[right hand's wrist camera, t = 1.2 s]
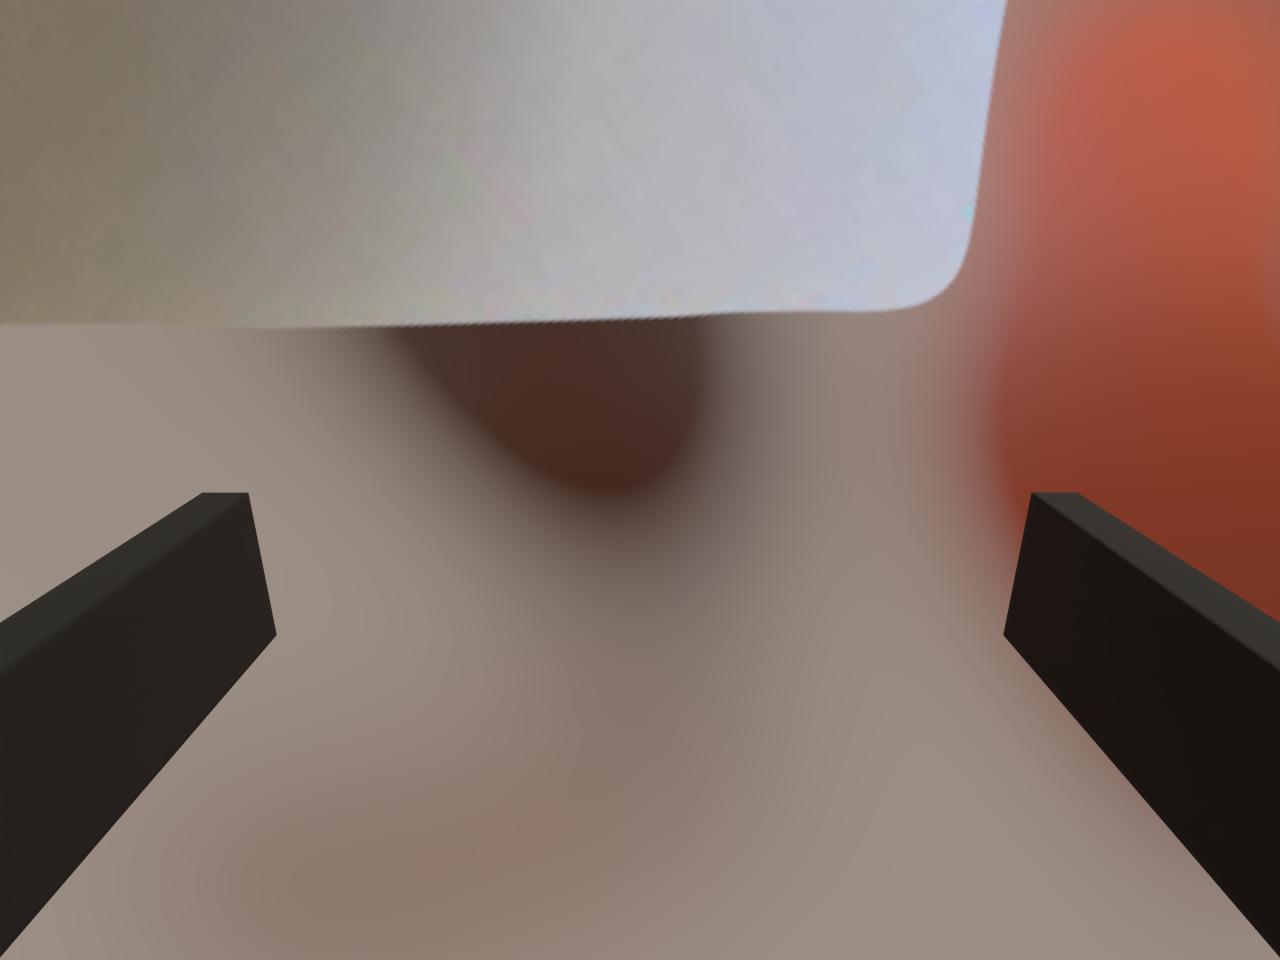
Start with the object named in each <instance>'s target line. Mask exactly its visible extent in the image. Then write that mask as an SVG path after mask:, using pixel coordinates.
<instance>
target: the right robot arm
mask: <svg viewBox="0 0 1280 960" xmlns="http://www.w3.org/2000/svg"><path fill="white" fill-rule="evenodd" d="M1003 635H1004V636H1005V637H1006V639H1007V640H1008V641H1009V642H1010V643H1011V644H1012V646H1013V647H1014V648H1015V649H1016V650H1017V651H1018V653H1019V654H1020V655H1021V656H1022V657H1023V658H1024V660H1025V661H1026V662H1027V663H1028V664H1029V665H1030V667H1031V668H1032V669H1033V670H1034V671H1035V672H1036V674H1037V675H1038V676H1039V677H1040V678H1041V679H1042V681H1043V682H1044V683H1045V684H1046V685H1047V686H1048V688H1049V689H1050V690H1051V691H1052V692H1053V693H1054V695H1055V696H1056V697H1057V698H1058V699H1059V700H1060V702H1061V703H1062V704H1063V705H1064V706H1065V707H1066V709H1067V710H1068V711H1069V712H1070V713H1071V714H1072V716H1073V717H1074V718H1075V719H1076V720H1077V721H1078V723H1079V724H1080V725H1081V726H1082V727H1083V728H1084V730H1085V731H1086V732H1087V733H1088V734H1089V735H1090V737H1091V738H1092V739H1093V740H1094V741H1095V742H1096V744H1097V745H1098V746H1099V747H1100V748H1101V749H1102V751H1103V752H1104V753H1105V754H1106V755H1107V756H1108V758H1109V759H1110V760H1111V761H1112V762H1113V763H1114V765H1115V766H1116V767H1117V768H1118V769H1119V770H1120V772H1121V773H1122V774H1123V775H1124V776H1125V777H1126V779H1127V780H1128V781H1129V782H1130V783H1131V784H1132V786H1133V787H1134V788H1135V789H1136V790H1137V791H1138V793H1139V794H1140V795H1141V796H1142V797H1143V798H1144V799H1145V801H1146V802H1147V803H1148V804H1149V805H1150V807H1151V808H1152V809H1153V810H1154V811H1155V812H1156V814H1157V815H1158V816H1159V817H1160V818H1161V819H1162V820H1163V822H1164V823H1165V824H1166V825H1167V826H1168V828H1169V829H1170V830H1171V831H1172V832H1173V833H1174V835H1175V836H1176V837H1177V838H1178V839H1179V840H1180V842H1181V843H1182V844H1183V845H1184V846H1185V847H1186V849H1187V850H1188V851H1189V852H1190V853H1191V854H1192V855H1193V857H1194V858H1195V859H1196V860H1197V861H1198V862H1199V864H1200V865H1201V866H1202V867H1203V868H1204V869H1205V871H1206V872H1207V873H1208V874H1209V875H1210V876H1211V878H1212V879H1213V880H1214V881H1215V882H1216V883H1217V885H1218V886H1219V887H1220V888H1221V889H1222V890H1223V892H1224V893H1225V894H1226V895H1227V896H1228V897H1229V899H1230V900H1231V901H1232V902H1233V903H1234V904H1235V906H1236V907H1237V908H1238V909H1239V910H1240V911H1241V913H1242V914H1243V915H1244V916H1245V917H1246V918H1247V920H1248V921H1249V922H1250V923H1251V924H1252V925H1253V927H1254V928H1255V929H1256V930H1257V931H1258V932H1259V934H1260V935H1261V936H1262V937H1263V938H1264V939H1265V941H1266V942H1267V943H1268V944H1269V945H1270V946H1271V948H1272V949H1273V950H1274V951H1275V952H1276V953H1277V955H1278V956H1279V957H1280V623H1279V622H1278V621H1276V620H1275V619H1273V618H1272V617H1270V616H1268V615H1267V614H1265V613H1264V612H1262V611H1261V610H1259V609H1258V608H1256V607H1254V606H1253V605H1251V604H1250V603H1248V602H1247V601H1245V600H1244V599H1242V598H1240V597H1239V596H1237V595H1236V594H1234V593H1233V592H1231V591H1230V590H1228V589H1226V588H1225V587H1223V586H1222V585H1220V584H1219V583H1217V582H1216V581H1214V580H1212V579H1211V578H1209V577H1208V576H1206V575H1205V574H1203V573H1202V572H1200V571H1198V570H1197V569H1195V568H1194V567H1192V566H1191V565H1189V564H1188V563H1186V562H1184V561H1183V560H1181V559H1180V558H1178V557H1177V556H1175V555H1174V554H1172V553H1170V552H1169V551H1167V550H1166V549H1164V548H1163V547H1161V546H1160V545H1158V544H1156V543H1155V542H1153V541H1152V540H1150V539H1149V538H1147V537H1146V536H1144V535H1142V534H1141V533H1139V532H1138V531H1136V530H1135V529H1133V528H1132V527H1130V526H1128V525H1127V524H1125V523H1124V522H1122V521H1121V520H1119V519H1118V518H1116V517H1114V516H1113V515H1111V514H1110V513H1108V512H1107V511H1105V510H1104V509H1102V508H1100V507H1099V506H1097V505H1096V504H1094V503H1093V502H1091V501H1090V500H1088V499H1086V498H1085V497H1083V496H1082V495H1080V494H1079V493H1032V494H1031V499H1030V504H1029V509H1028V514H1027V519H1026V524H1025V529H1024V534H1023V539H1022V544H1021V549H1020V554H1019V559H1018V564H1017V569H1016V574H1015V579H1014V584H1013V589H1012V594H1011V599H1010V604H1009V609H1008V614H1007V619H1006V624H1005V629H1004V634H1003ZM275 636H276V629H275V624H274V619H273V614H272V609H271V604H270V599H269V594H268V589H267V584H266V579H265V574H264V569H263V564H262V559H261V554H260V549H259V544H258V539H257V534H256V529H255V524H254V519H253V514H252V509H251V504H250V499H249V494H248V493H201V494H200V495H198V496H197V497H195V498H193V499H192V500H190V501H189V502H187V503H186V504H184V505H183V506H181V507H179V508H178V509H176V510H175V511H173V512H172V513H170V514H169V515H167V516H165V517H164V518H162V519H161V520H159V521H158V522H156V523H155V524H153V525H152V526H150V527H148V528H147V529H145V530H144V531H142V532H141V533H139V534H138V535H136V536H134V537H133V538H131V539H130V540H128V541H127V542H125V543H124V544H122V545H121V546H119V547H117V548H116V549H114V550H113V551H111V552H110V553H108V554H106V555H105V556H103V557H102V558H100V559H99V560H97V561H96V562H94V563H92V564H91V565H89V566H88V567H86V568H85V569H83V570H82V571H80V572H78V573H77V574H75V575H74V576H72V577H71V578H69V579H68V580H66V581H64V582H63V583H61V584H60V585H58V586H57V587H55V588H54V589H52V590H50V591H49V592H47V593H46V594H44V595H43V596H41V597H40V598H38V599H36V600H35V601H33V602H32V603H30V604H29V605H27V606H26V607H24V608H22V609H21V610H19V611H18V612H16V613H15V614H13V615H12V616H10V617H8V618H7V619H5V620H4V621H2V622H1V623H0V957H1V956H2V955H3V953H4V952H5V951H6V950H7V949H8V948H9V946H10V945H11V944H12V943H13V942H14V941H15V939H16V938H17V937H18V936H19V935H20V934H21V932H22V931H23V930H24V929H25V928H26V927H27V925H28V924H29V923H30V922H31V921H32V920H33V918H34V917H35V916H36V915H37V914H38V913H39V911H40V910H41V909H42V908H43V907H44V906H45V904H46V903H47V902H48V901H49V900H50V899H51V897H52V896H53V895H54V894H55V893H56V892H57V890H58V889H59V888H60V887H61V886H62V885H63V883H64V882H65V881H66V880H67V879H68V878H69V876H70V875H71V874H72V873H73V872H74V871H75V869H76V868H77V867H78V866H79V865H80V864H81V862H82V861H83V860H84V859H85V858H86V857H87V855H88V854H89V853H90V852H91V851H92V850H93V848H94V847H95V846H96V845H97V844H98V843H99V841H100V840H101V839H102V838H103V837H104V836H105V834H106V833H107V832H108V831H109V830H110V829H111V827H112V826H113V825H114V824H115V823H116V822H117V821H118V819H119V818H120V817H121V816H122V815H123V814H124V812H125V811H126V810H127V809H128V808H129V807H130V805H131V804H132V803H133V802H134V801H135V800H136V798H137V797H138V796H139V795H140V794H141V793H142V791H143V790H144V789H145V788H146V787H147V786H148V784H149V783H150V782H151V781H152V780H153V778H154V777H155V776H156V775H157V774H158V773H159V772H160V770H161V769H162V768H163V767H164V766H165V764H166V763H167V762H168V761H169V760H170V759H171V758H172V756H173V755H174V754H175V753H176V752H177V751H178V749H179V748H180V747H181V746H182V745H183V744H184V742H185V741H186V740H187V739H188V738H189V737H190V735H191V734H192V733H193V732H194V731H195V730H196V728H197V727H198V726H199V725H200V724H201V723H202V721H203V720H204V719H205V718H206V717H207V716H208V714H209V713H210V712H211V711H212V710H213V709H214V707H215V706H216V705H217V704H218V703H219V702H220V700H221V699H222V698H223V697H224V696H225V695H226V693H227V692H228V691H229V690H230V689H231V688H232V686H233V685H234V684H235V683H236V682H237V681H238V679H239V678H240V677H241V676H242V675H243V674H244V672H245V671H246V670H247V669H248V668H249V667H250V665H251V664H252V663H253V662H254V661H255V660H256V658H257V657H258V656H259V655H260V654H261V653H262V651H263V650H264V649H265V648H266V647H267V646H268V644H269V643H270V642H271V641H272V640H273V639H274V637H275Z"/></svg>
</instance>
